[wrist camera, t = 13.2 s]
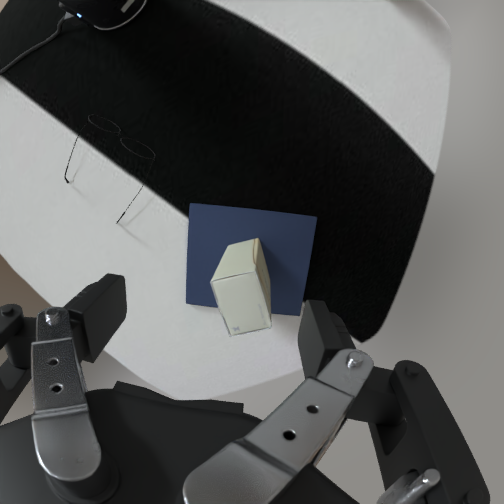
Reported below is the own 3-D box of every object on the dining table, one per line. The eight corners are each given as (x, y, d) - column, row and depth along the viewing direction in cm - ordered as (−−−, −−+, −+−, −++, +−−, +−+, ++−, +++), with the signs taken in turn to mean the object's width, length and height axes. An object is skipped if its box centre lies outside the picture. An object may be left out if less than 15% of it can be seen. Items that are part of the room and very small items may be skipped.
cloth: (186, 302, 40) (185, 303, 40) (190, 203, 36) (189, 203, 35) (299, 314, 40) (299, 316, 40) (316, 216, 36) (317, 217, 36)
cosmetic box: (270, 280, 38) (274, 330, 27) (238, 288, 39) (229, 339, 27) (258, 235, 36) (257, 269, 25) (224, 244, 37) (208, 281, 25)
